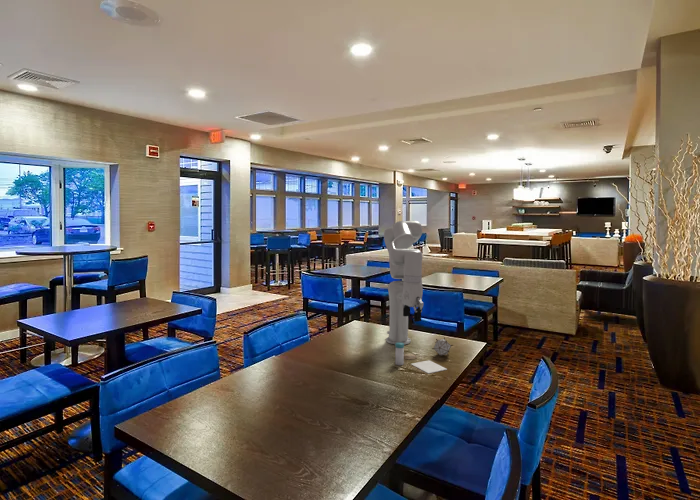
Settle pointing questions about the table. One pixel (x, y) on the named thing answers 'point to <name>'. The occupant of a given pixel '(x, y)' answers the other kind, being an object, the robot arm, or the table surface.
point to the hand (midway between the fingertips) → (411, 318)
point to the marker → (399, 353)
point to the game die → (442, 347)
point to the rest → (409, 356)
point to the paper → (428, 366)
